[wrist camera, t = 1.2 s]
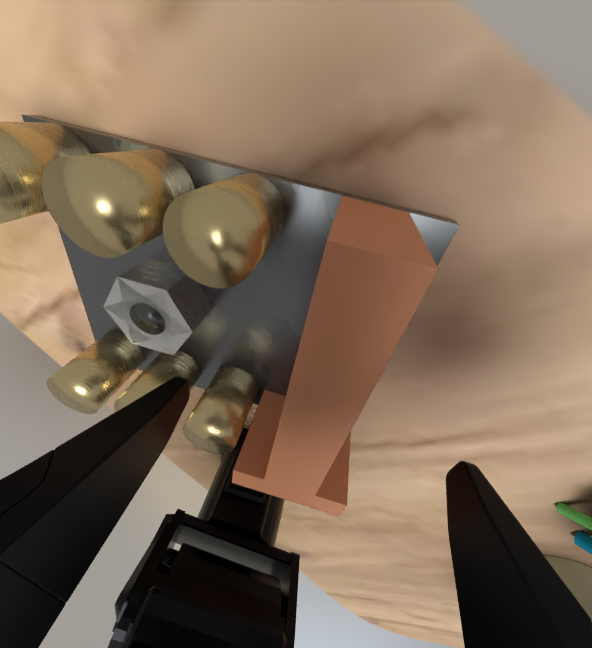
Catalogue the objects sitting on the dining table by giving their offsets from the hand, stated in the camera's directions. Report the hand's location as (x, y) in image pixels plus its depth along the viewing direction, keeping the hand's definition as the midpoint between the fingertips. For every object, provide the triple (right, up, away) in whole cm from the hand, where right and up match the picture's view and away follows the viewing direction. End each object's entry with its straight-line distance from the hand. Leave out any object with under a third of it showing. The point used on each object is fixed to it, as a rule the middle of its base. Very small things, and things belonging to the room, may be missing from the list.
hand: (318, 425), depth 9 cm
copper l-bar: (+1, +3, +6) cm, 6 cm away
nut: (-7, +5, +6) cm, 11 cm away
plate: (-4, +4, +7) cm, 9 cm away
